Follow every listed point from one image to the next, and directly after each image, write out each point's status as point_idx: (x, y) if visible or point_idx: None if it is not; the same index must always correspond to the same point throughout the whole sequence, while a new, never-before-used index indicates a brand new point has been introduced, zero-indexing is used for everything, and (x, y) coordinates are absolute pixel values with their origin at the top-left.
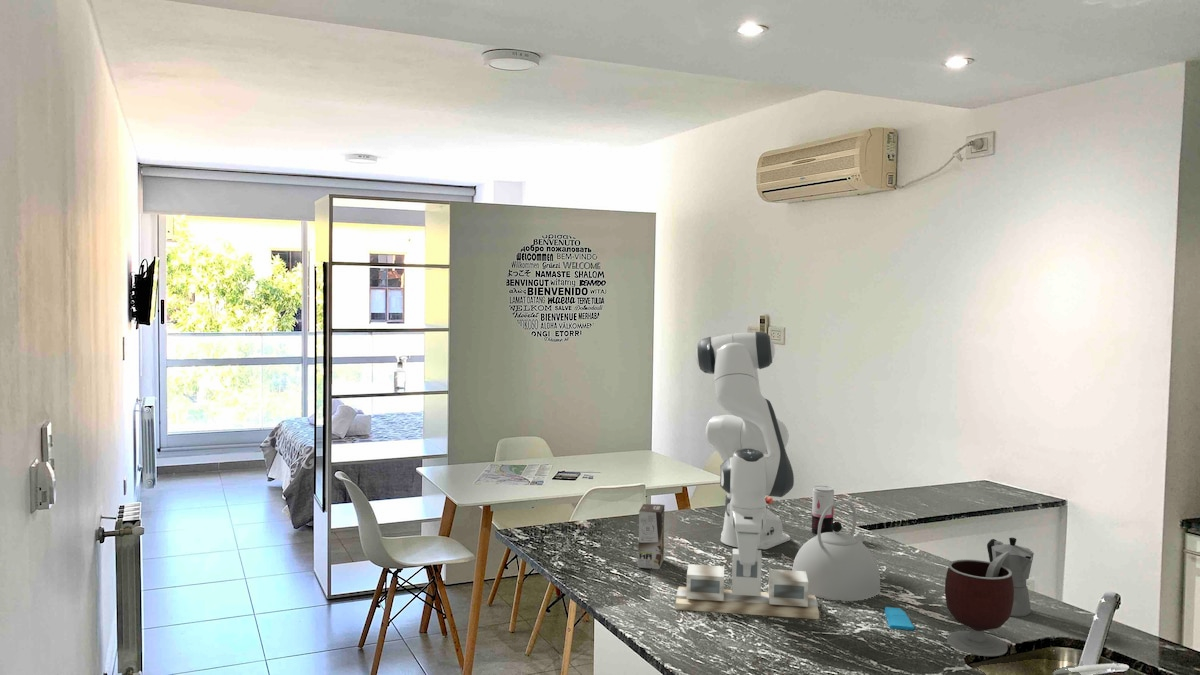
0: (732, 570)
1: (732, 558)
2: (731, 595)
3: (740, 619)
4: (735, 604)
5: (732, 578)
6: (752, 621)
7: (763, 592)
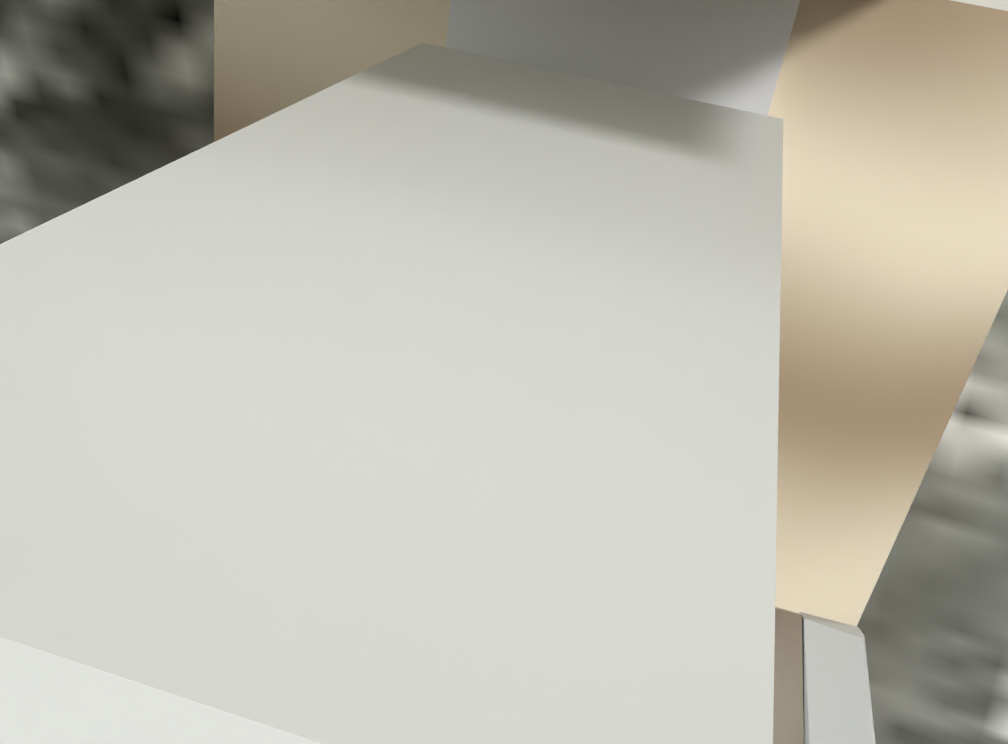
0: (149, 176)
1: (516, 419)
2: (622, 60)
3: (78, 54)
4: (328, 62)
5: (285, 121)
6: (54, 194)
7: (839, 600)
